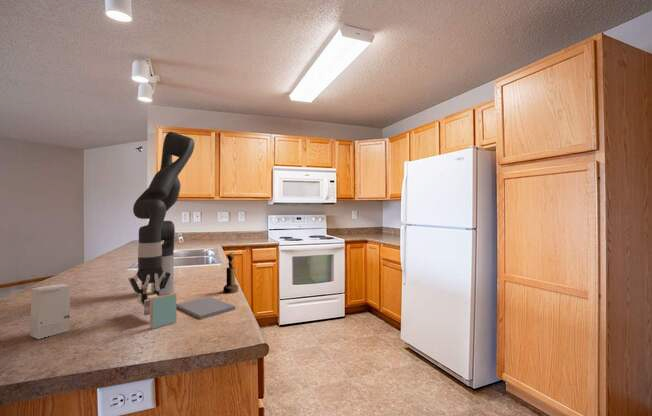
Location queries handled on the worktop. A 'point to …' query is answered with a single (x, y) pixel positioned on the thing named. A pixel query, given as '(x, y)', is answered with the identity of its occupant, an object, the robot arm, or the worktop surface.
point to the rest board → (205, 307)
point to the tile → (162, 310)
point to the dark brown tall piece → (230, 276)
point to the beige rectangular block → (147, 301)
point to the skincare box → (50, 310)
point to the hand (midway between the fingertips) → (150, 302)
